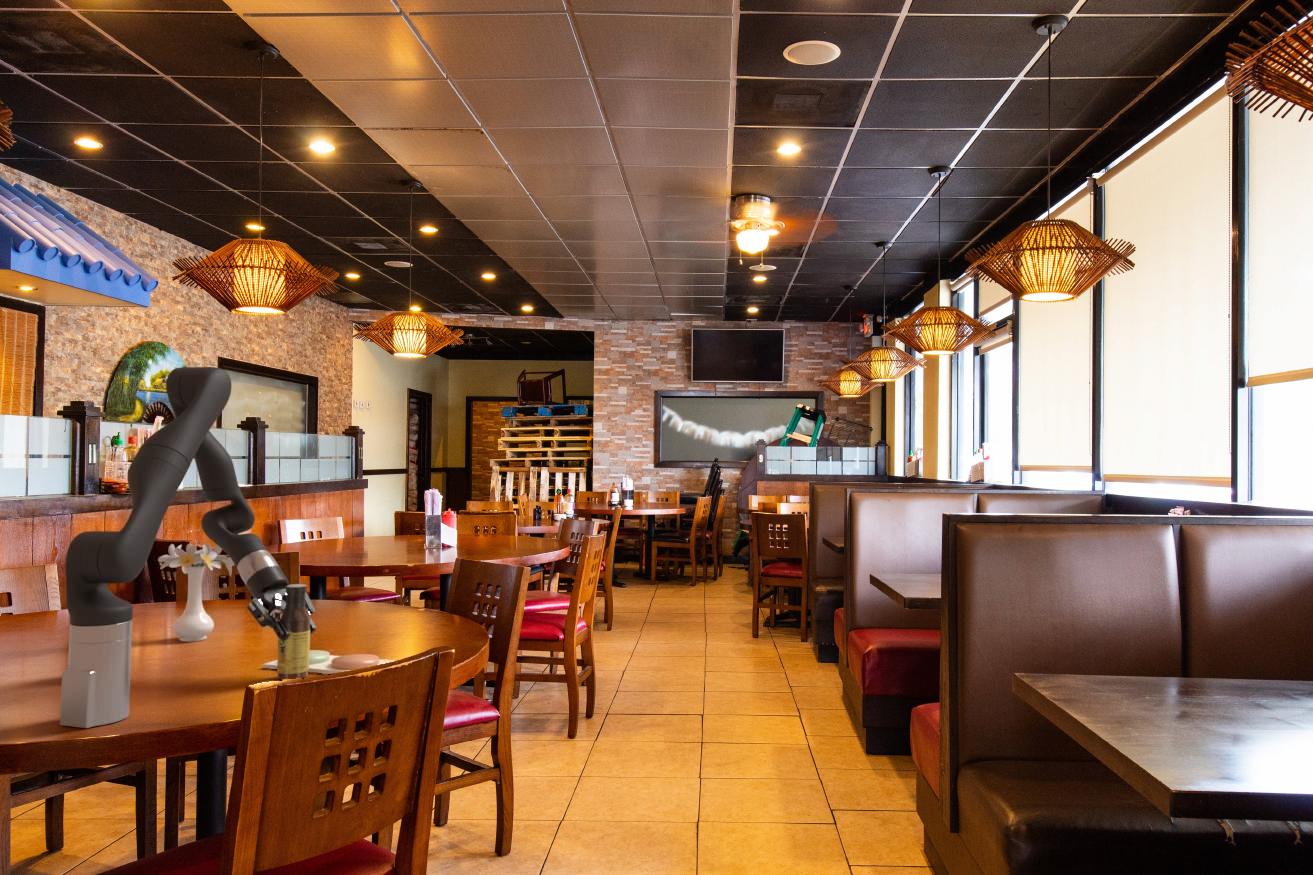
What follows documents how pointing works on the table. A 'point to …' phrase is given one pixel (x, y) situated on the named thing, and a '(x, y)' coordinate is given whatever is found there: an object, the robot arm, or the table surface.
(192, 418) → the robot arm
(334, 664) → the tray
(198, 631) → the flower vase
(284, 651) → the sauce bottle
